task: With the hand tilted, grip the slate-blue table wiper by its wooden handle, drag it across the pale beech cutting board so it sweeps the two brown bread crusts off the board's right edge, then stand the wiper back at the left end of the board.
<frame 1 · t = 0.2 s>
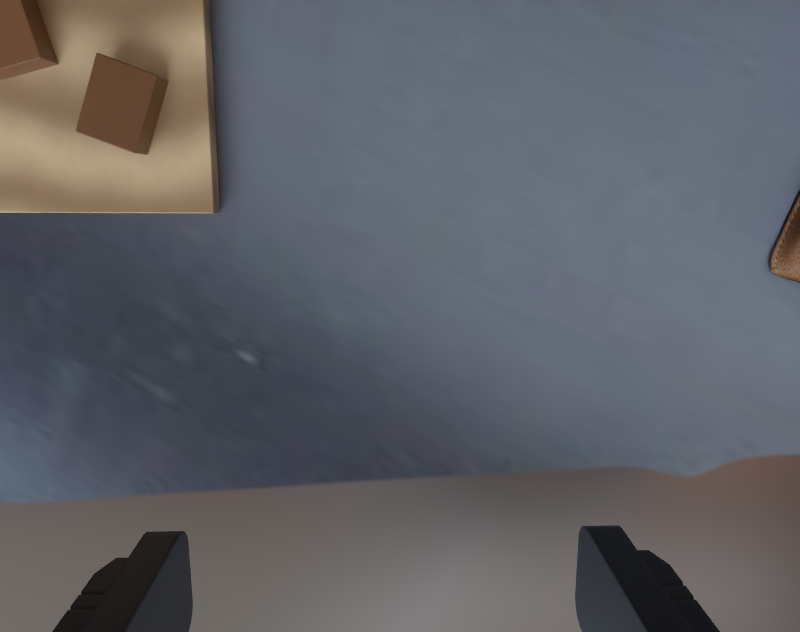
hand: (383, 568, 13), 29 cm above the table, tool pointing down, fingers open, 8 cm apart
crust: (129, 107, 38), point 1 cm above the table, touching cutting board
cutting board: (79, 1, 38), on the table
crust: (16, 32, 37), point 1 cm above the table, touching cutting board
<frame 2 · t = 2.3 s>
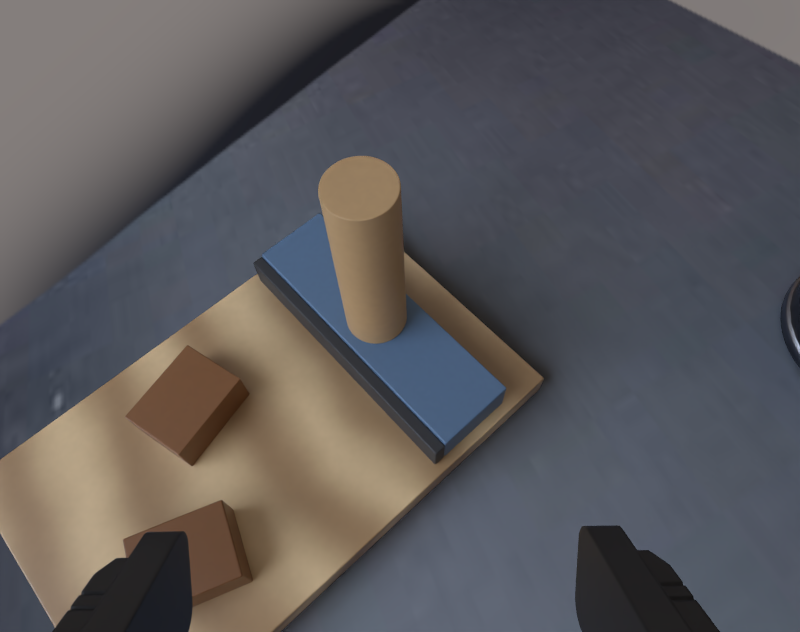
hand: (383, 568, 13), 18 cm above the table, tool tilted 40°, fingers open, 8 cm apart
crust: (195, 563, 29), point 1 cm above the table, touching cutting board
cutting board: (270, 437, 33), on the table
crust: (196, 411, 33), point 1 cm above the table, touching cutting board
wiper: (379, 334, 34), point 1 cm above the table, touching cutting board
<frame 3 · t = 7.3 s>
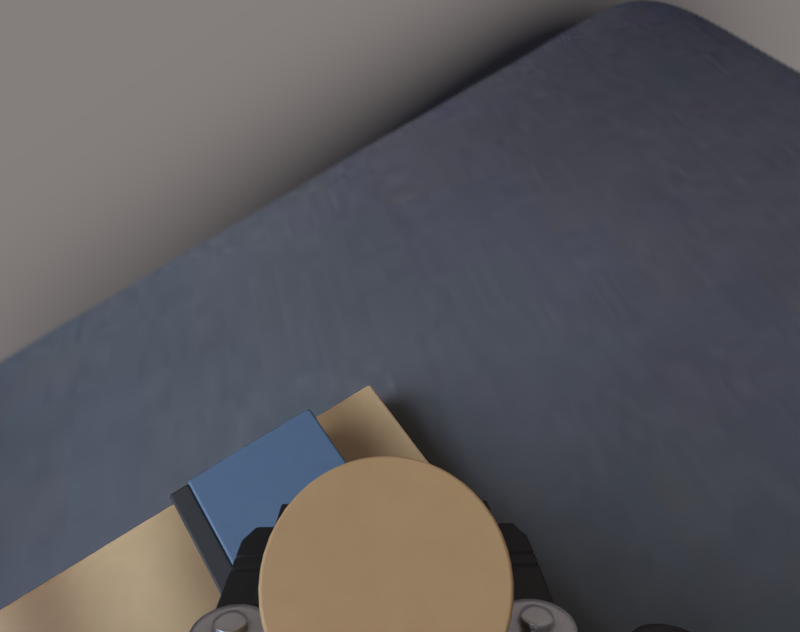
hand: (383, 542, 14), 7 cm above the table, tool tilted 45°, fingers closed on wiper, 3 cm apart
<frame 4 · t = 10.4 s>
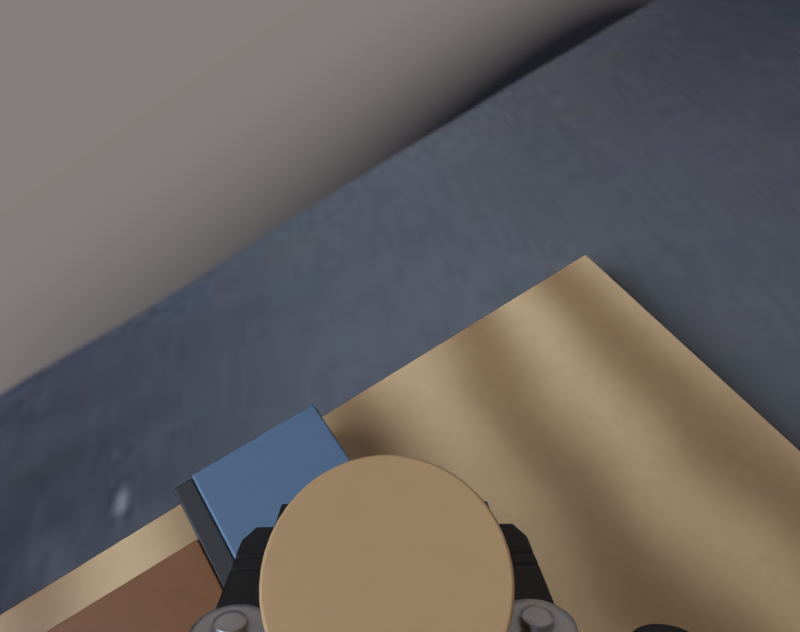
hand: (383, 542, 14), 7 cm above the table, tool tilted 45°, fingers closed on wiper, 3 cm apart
cutting board: (464, 615, 20), on the table
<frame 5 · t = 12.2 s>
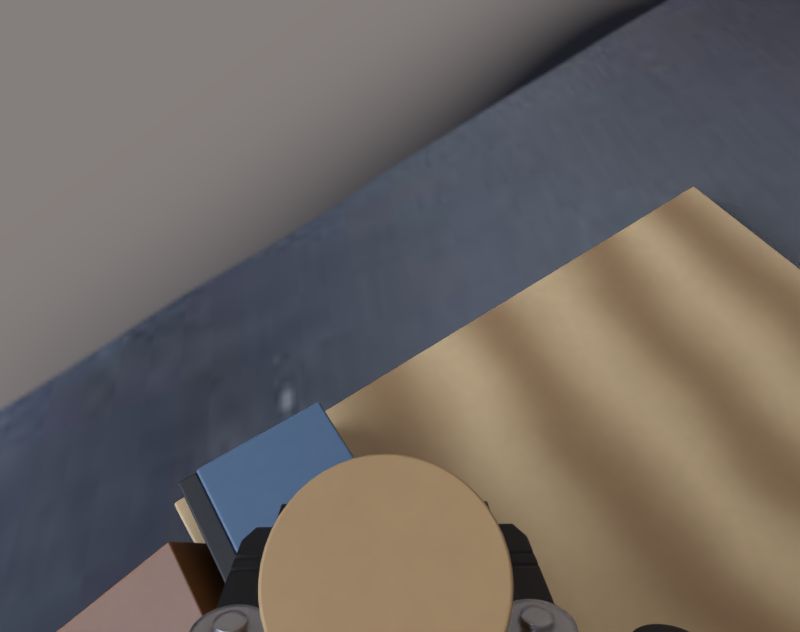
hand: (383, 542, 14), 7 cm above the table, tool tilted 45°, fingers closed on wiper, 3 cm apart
cutting board: (610, 495, 22), on the table
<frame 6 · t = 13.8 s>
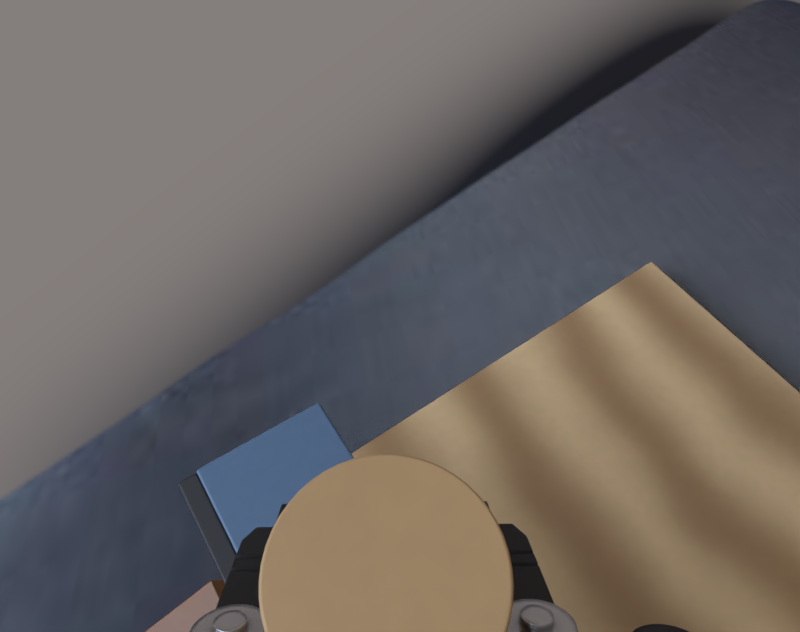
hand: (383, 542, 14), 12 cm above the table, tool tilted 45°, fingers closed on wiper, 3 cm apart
cutting board: (571, 535, 27), on the table
when the fingers open (7 cm above the table, at t = 20.4 s): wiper stays where it is, resting on cutting board.
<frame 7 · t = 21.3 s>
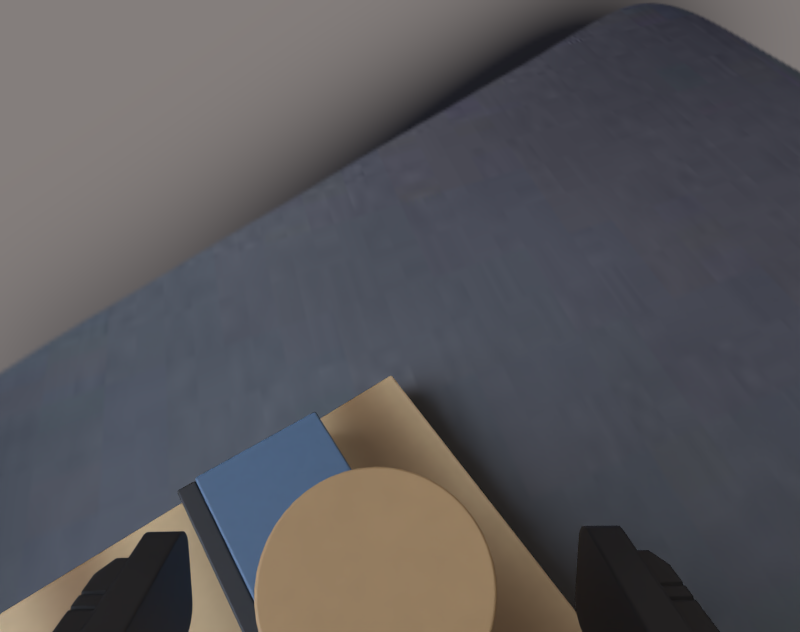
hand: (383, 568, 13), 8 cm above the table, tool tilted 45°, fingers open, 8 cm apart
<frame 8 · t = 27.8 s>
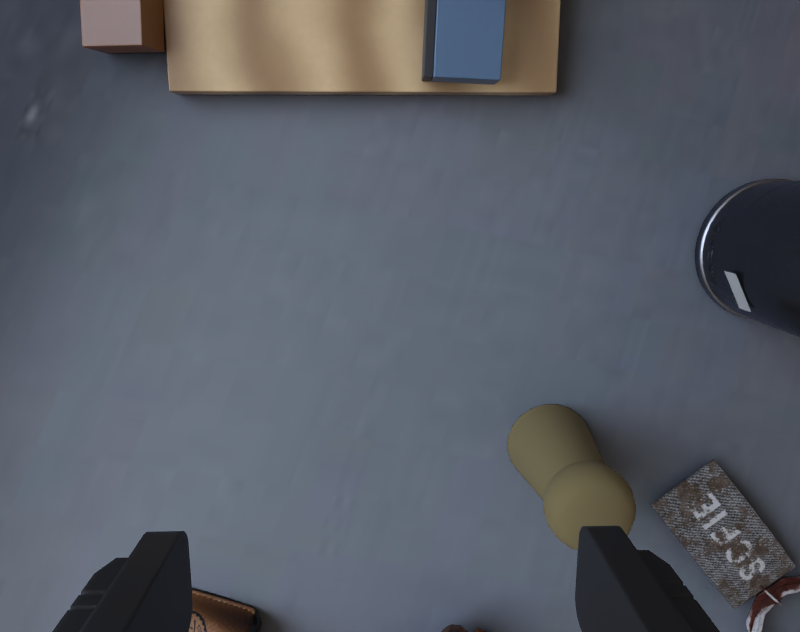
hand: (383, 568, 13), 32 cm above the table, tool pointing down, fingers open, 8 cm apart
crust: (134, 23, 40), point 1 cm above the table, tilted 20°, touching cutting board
keychain: (750, 563, 50), on the table
olive game pawn: (548, 442, 47), on the table
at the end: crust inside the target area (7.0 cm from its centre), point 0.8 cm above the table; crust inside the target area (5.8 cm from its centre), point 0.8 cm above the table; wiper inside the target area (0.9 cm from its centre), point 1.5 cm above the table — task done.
